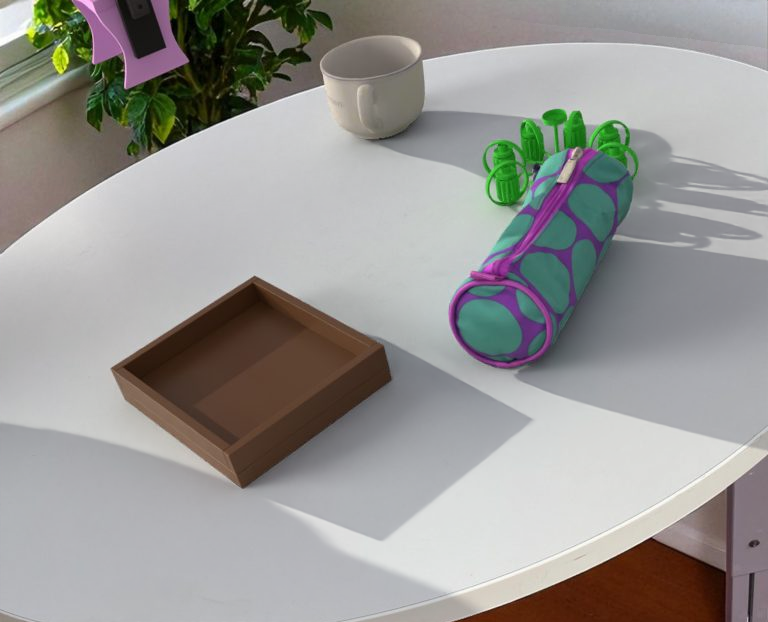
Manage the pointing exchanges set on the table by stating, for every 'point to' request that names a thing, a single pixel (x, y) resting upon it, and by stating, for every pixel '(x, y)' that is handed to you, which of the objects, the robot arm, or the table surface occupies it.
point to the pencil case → (542, 259)
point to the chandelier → (535, 150)
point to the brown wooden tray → (252, 378)
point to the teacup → (375, 85)
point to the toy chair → (113, 40)
